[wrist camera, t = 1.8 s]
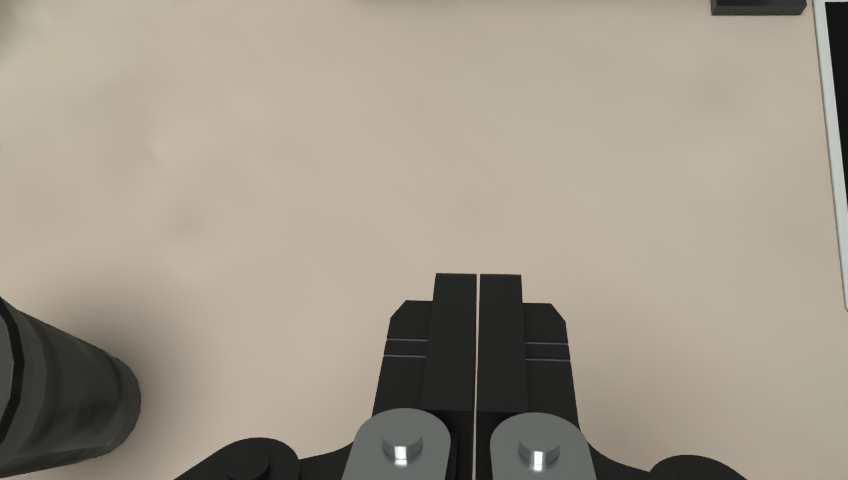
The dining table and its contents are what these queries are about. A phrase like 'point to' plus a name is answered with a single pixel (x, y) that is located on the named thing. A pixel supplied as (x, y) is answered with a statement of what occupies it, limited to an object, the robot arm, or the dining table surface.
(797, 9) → the post
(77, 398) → the beverage cup
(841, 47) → the cell phone
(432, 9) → the dining table surface
